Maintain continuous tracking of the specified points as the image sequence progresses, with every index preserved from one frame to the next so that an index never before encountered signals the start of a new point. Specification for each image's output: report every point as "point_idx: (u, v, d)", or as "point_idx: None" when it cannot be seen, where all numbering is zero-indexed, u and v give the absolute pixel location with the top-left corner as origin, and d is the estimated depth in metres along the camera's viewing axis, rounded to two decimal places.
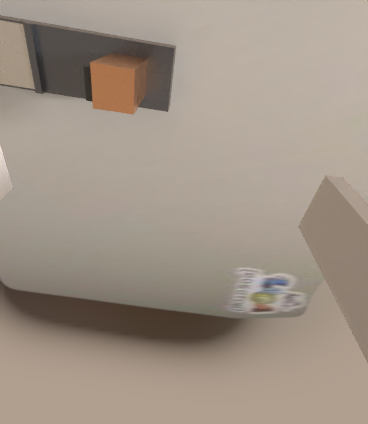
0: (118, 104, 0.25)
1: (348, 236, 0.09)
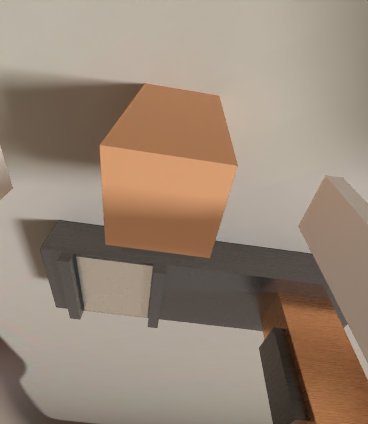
0: None
1: (348, 236, 0.09)
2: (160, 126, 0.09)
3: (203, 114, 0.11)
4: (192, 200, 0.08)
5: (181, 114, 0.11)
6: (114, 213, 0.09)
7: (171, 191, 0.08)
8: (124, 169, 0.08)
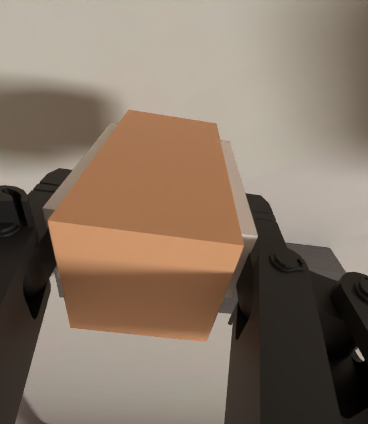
0: None
1: None
2: (140, 177, 0.07)
3: (197, 154, 0.09)
4: (181, 284, 0.06)
5: (169, 154, 0.08)
6: (78, 296, 0.07)
7: (153, 273, 0.06)
8: (86, 248, 0.06)
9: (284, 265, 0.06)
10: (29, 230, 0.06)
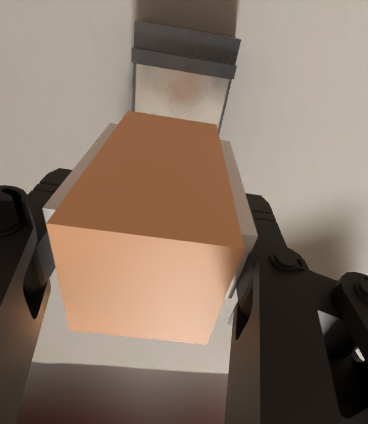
0: None
1: None
2: (139, 179, 0.07)
3: (197, 156, 0.09)
4: (181, 286, 0.06)
5: (169, 155, 0.08)
6: (77, 299, 0.07)
7: (152, 276, 0.06)
8: (84, 251, 0.06)
9: (284, 265, 0.06)
10: (29, 230, 0.06)
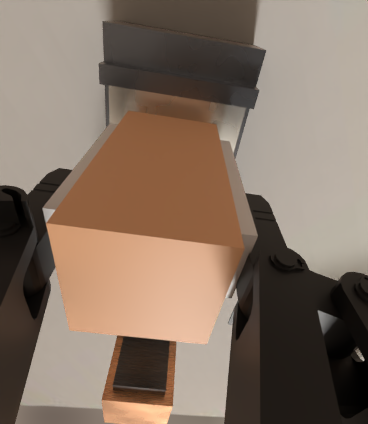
0: (115, 415, 0.16)
1: None
2: (139, 179, 0.07)
3: (197, 155, 0.09)
4: (181, 286, 0.06)
5: (169, 155, 0.08)
6: (77, 299, 0.07)
7: (152, 276, 0.06)
8: (84, 251, 0.06)
9: (284, 265, 0.06)
10: (29, 230, 0.06)
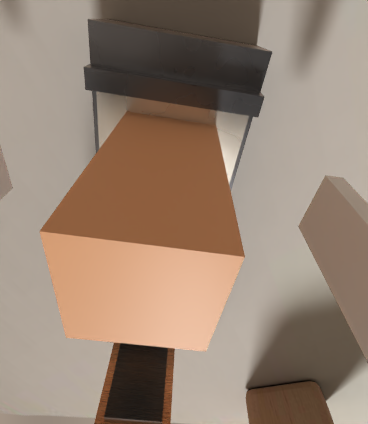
0: None
1: (348, 236, 0.09)
2: (137, 183, 0.07)
3: (196, 158, 0.09)
4: (179, 294, 0.06)
5: (167, 158, 0.08)
6: (73, 306, 0.06)
7: (150, 284, 0.06)
8: (80, 259, 0.05)
9: None
10: None
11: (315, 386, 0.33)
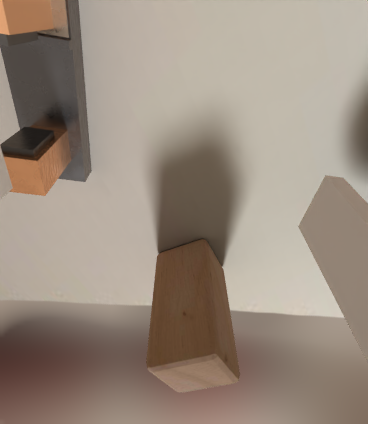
0: None
1: (348, 236, 0.09)
2: None
3: None
4: None
5: None
6: None
7: None
8: None
9: None
10: None
11: (203, 240, 0.45)
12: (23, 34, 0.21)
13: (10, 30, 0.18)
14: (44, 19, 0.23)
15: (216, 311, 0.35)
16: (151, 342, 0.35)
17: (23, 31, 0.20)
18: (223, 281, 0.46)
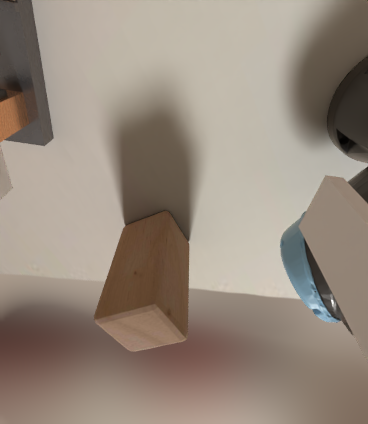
0: None
1: (348, 236, 0.09)
2: None
3: None
4: None
5: None
6: None
7: None
8: None
9: None
10: None
11: (166, 212, 0.47)
12: None
13: None
14: None
15: (165, 271, 0.37)
16: (102, 298, 0.36)
17: None
18: (186, 252, 0.47)
